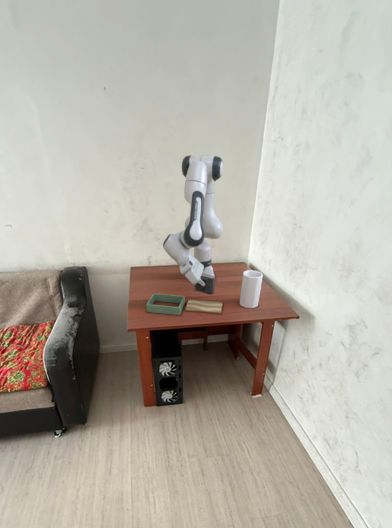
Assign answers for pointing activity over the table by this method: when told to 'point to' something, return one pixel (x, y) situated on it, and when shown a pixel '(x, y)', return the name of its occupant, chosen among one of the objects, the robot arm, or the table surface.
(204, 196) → the robot arm
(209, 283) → the camera
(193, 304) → the board
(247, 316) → the table surface
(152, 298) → the bin
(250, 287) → the cup
